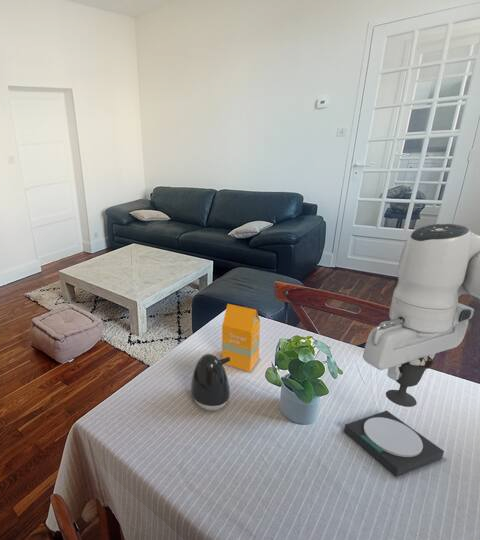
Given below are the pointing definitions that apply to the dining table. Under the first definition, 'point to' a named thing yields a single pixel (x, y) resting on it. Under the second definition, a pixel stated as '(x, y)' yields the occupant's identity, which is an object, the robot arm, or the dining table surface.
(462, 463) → the dining table surface
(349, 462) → the dining table surface
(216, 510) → the dining table surface
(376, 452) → the scale
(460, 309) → the robot arm
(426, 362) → the sundae
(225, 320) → the orange juice
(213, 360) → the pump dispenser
